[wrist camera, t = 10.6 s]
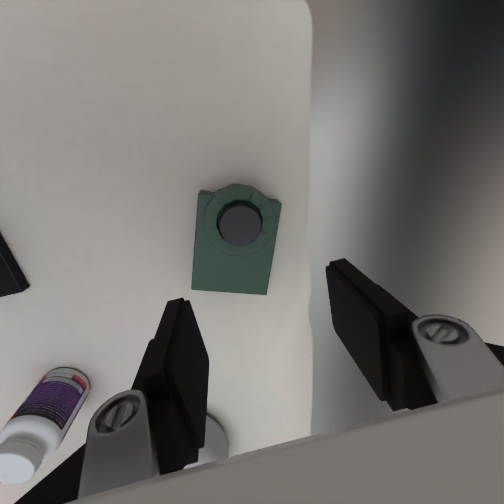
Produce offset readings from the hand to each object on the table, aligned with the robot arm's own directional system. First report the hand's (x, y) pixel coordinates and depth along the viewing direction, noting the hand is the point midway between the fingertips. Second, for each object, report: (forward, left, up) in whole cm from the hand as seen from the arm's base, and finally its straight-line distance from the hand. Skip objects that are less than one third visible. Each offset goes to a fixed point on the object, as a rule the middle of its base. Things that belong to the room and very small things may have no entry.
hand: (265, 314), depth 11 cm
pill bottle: (+23, -18, -20) cm, 35 cm away
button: (0, 0, -16) cm, 16 cm away
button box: (+3, 0, -19) cm, 20 cm away
